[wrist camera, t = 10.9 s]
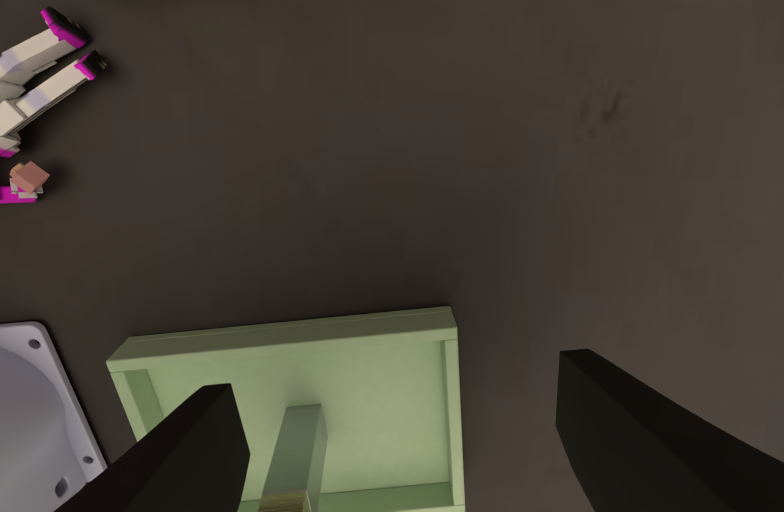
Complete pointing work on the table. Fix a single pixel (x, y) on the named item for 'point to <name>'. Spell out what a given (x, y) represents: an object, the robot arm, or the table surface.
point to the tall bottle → (296, 462)
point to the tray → (324, 399)
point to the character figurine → (38, 93)
